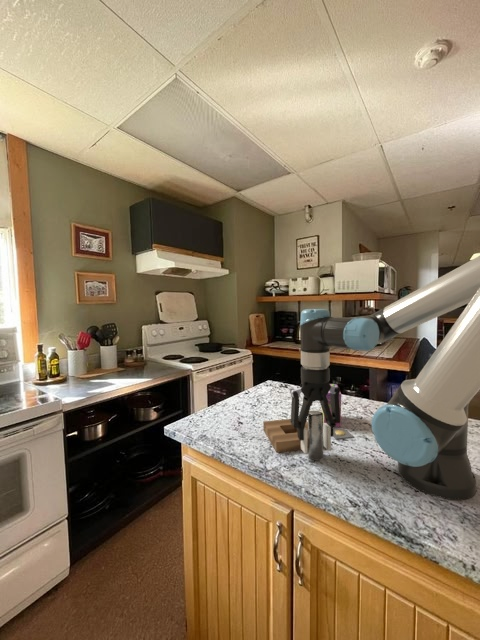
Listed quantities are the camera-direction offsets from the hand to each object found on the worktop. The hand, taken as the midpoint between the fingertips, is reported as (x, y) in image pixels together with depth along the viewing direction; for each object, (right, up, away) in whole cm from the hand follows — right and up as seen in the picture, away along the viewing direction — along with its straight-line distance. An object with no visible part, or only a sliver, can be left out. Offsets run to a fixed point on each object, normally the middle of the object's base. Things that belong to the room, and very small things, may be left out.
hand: (315, 449), depth 77 cm
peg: (0, -2, 0) cm, 2 cm away
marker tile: (+11, -1, +12) cm, 17 cm away
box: (+11, 0, +22) cm, 25 cm away
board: (-5, -1, +10) cm, 12 cm away
